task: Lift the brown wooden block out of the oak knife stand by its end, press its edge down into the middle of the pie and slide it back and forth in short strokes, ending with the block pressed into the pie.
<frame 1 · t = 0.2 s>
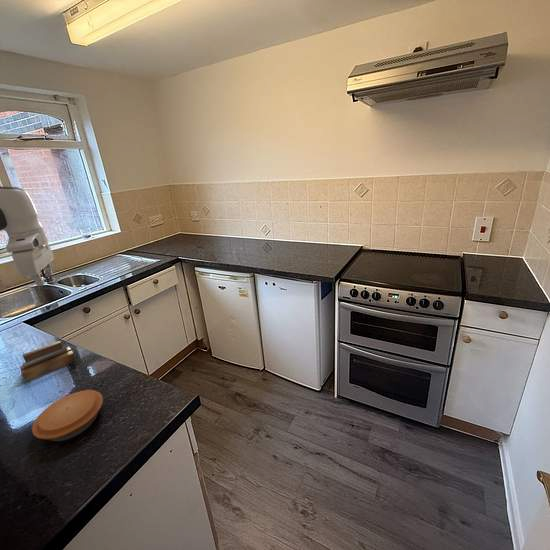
hand: (45, 280, 98), 29 cm above the countertop, tool pointing down, fingers open, 8 cm apart
knife stand: (52, 370, 100), on the countertop
pie: (74, 423, 77), on the countertop
brown wooden block: (50, 367, 99), point 1 cm above the countertop, touching knife stand
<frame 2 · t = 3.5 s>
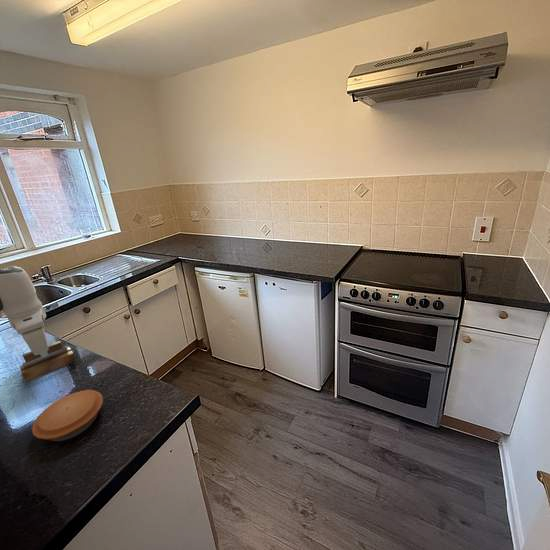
hand: (44, 353, 97), 7 cm above the countertop, tool pointing down, fingers closed on brown wooden block, 2 cm apart
brown wooden block: (50, 367, 99), point 1 cm above the countertop, touching gripper, knife stand
everything else where it was.
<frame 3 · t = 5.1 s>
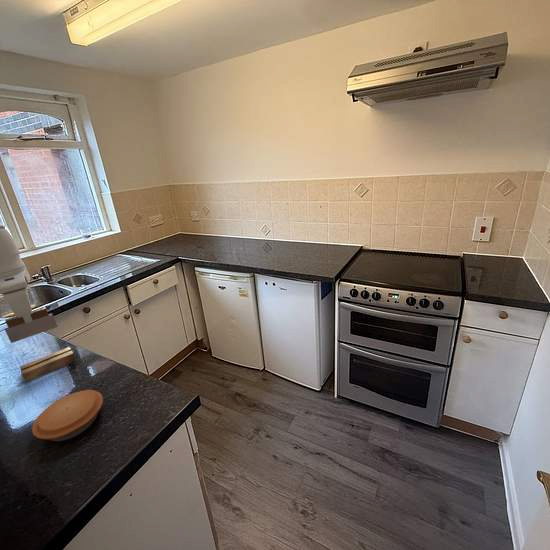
hand: (28, 319, 92), 20 cm above the countertop, tool pointing down, fingers closed on brown wooden block
brown wooden block: (35, 334, 94), point 14 cm above the countertop, touching gripper
everything else where it was.
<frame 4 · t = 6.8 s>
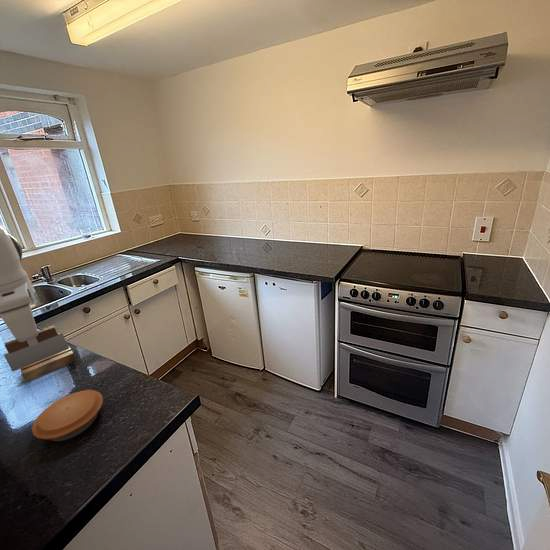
hand: (33, 342, 75), 22 cm above the countertop, tool pointing down, fingers closed on brown wooden block
brown wooden block: (42, 359, 77), point 17 cm above the countertop, touching gripper
everything else where it was.
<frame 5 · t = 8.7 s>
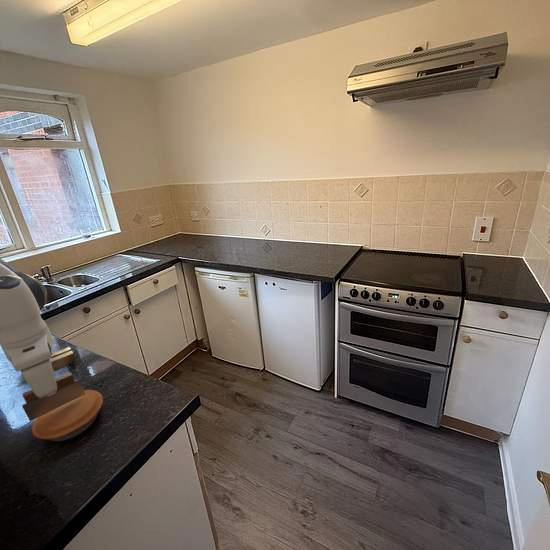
hand: (50, 390, 74), 11 cm above the countertop, tool pointing down, fingers closed on brown wooden block, 2 cm apart
brown wooden block: (59, 406, 76), point 5 cm above the countertop, touching gripper
everything else where it was.
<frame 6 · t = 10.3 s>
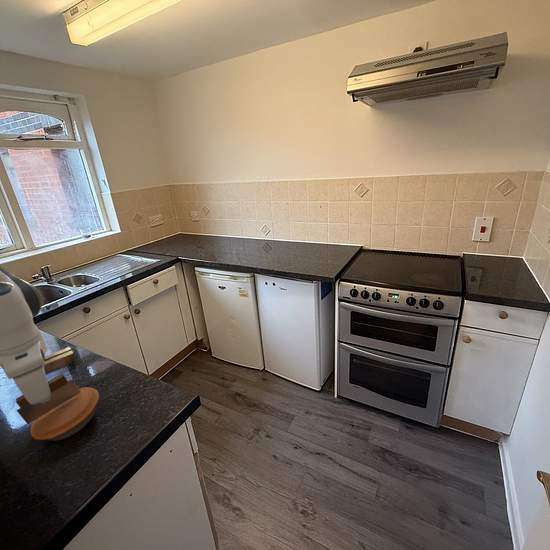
hand: (45, 397, 73), 10 cm above the countertop, tool pointing down, fingers closed on brown wooden block, 2 cm apart
pie: (73, 421, 77), point 1 cm above the countertop, touching brown wooden block
brown wooden block: (55, 407, 75), point 5 cm above the countertop, tilted 7°, touching gripper, pie
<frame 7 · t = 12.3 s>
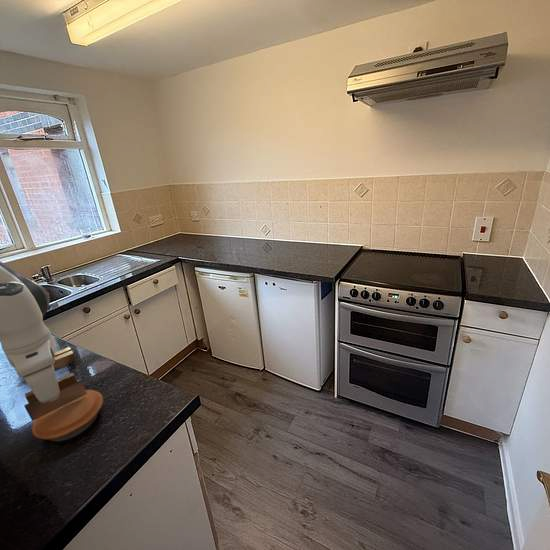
hand: (53, 395, 74), 9 cm above the countertop, tool pointing down, fingers closed on brown wooden block, 2 cm apart
brown wooden block: (61, 406, 76), point 5 cm above the countertop, touching gripper, pie
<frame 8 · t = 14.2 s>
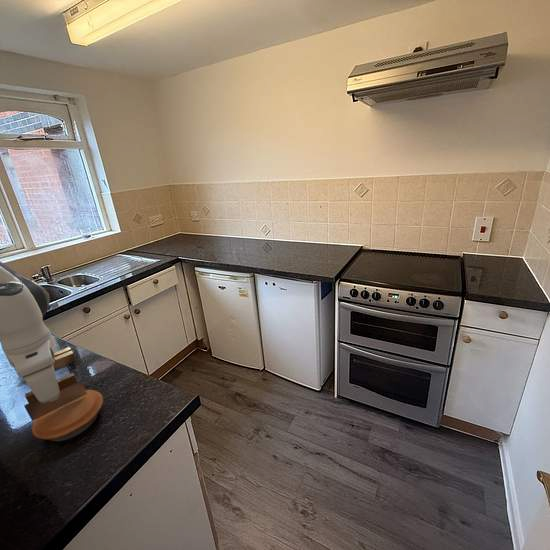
hand: (53, 395, 74), 9 cm above the countertop, tool pointing down, fingers closed on brown wooden block, 2 cm apart
brown wooden block: (61, 406, 76), point 5 cm above the countertop, touching gripper, pie
everything else where it was.
at the end: the gripper is holding brown wooden block; brown wooden block touching gripper, pie; pie moved 0.2 cm from its start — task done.
